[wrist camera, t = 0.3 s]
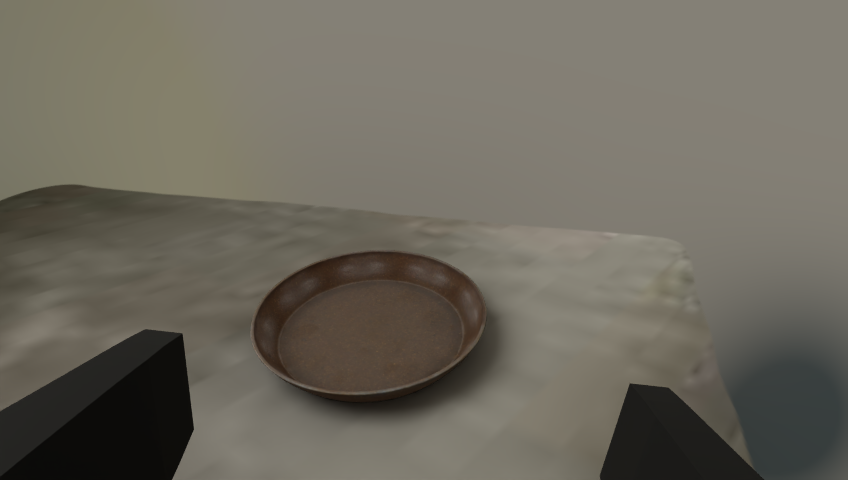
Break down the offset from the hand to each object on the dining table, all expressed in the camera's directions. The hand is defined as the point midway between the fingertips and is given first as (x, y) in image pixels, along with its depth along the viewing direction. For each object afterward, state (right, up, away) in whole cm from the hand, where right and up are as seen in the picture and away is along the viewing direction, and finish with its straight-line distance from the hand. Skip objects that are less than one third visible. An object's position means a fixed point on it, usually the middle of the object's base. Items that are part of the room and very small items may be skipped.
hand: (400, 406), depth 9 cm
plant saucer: (-4, -5, +34) cm, 35 cm away
